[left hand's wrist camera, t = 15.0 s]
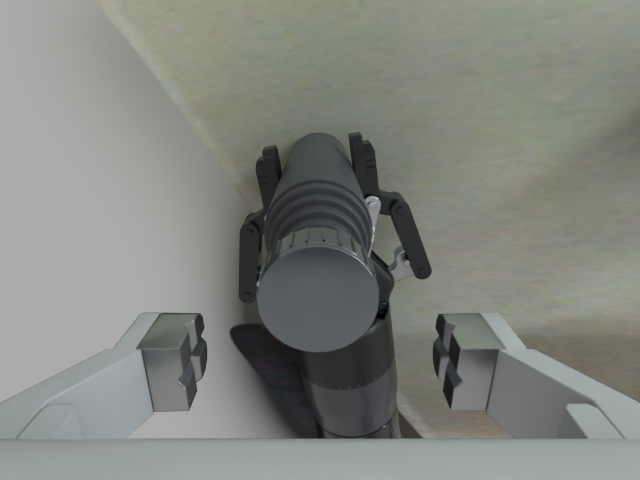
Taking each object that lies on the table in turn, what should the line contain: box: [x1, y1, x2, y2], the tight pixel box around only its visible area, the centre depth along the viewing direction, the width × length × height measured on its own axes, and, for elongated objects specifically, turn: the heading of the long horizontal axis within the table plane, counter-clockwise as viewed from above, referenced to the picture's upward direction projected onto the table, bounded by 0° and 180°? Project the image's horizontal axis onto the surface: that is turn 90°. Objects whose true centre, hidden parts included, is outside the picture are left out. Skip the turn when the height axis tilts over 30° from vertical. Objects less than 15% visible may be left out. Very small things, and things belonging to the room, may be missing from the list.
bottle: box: [264, 133, 373, 255], centre depth 22 cm, size 5×5×21 cm
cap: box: [257, 226, 379, 352], centre depth 13 cm, size 4×4×2 cm
